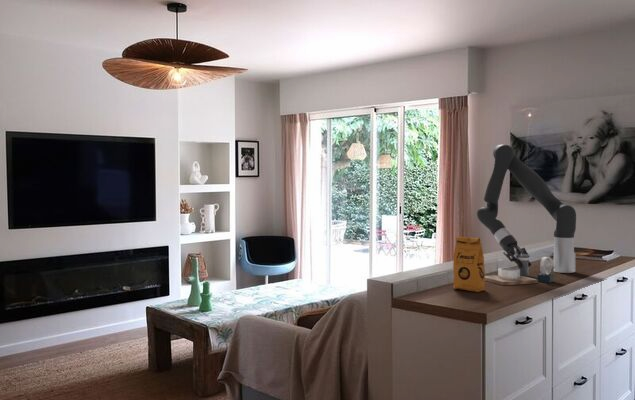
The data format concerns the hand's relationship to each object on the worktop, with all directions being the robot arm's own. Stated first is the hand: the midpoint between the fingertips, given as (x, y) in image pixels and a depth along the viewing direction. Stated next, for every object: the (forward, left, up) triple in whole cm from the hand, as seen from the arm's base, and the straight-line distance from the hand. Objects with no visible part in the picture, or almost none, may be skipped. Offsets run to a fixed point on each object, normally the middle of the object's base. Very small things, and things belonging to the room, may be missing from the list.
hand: (526, 266), depth 271 cm
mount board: (+15, +8, -5) cm, 18 cm away
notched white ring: (+15, +8, -3) cm, 18 cm away
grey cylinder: (0, -2, -5) cm, 5 cm away
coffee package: (+43, +20, -5) cm, 48 cm away
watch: (0, +14, -5) cm, 15 cm away
